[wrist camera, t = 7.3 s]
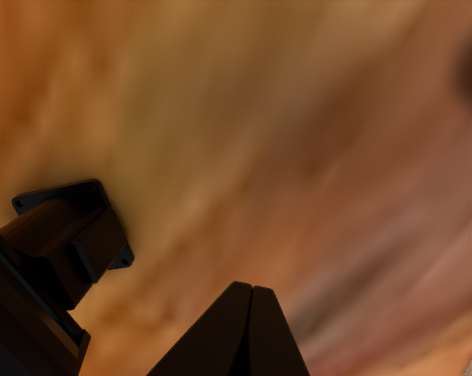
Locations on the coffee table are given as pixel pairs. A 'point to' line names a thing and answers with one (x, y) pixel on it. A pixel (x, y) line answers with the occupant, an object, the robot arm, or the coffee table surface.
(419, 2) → the coffee table surface
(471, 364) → the tile
